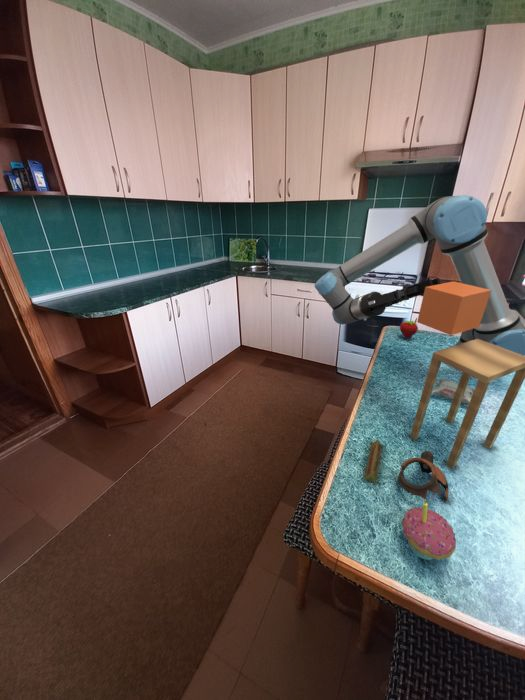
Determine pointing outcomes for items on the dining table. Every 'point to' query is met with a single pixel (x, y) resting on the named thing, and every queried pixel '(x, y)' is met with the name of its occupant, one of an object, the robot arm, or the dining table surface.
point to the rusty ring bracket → (427, 467)
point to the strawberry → (408, 328)
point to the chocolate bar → (373, 462)
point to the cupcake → (428, 533)
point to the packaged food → (452, 391)
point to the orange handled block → (452, 306)
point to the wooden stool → (481, 365)
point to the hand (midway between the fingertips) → (435, 283)
